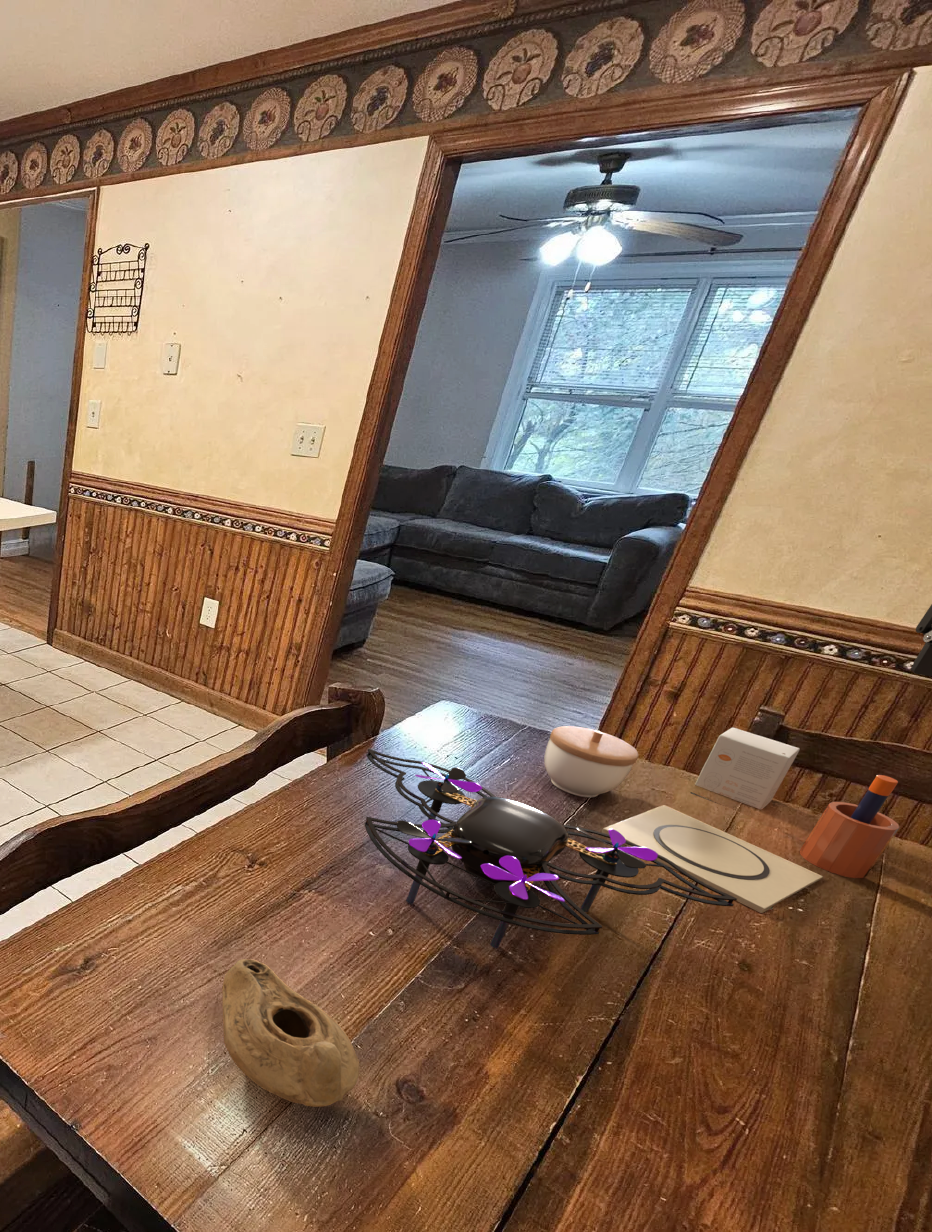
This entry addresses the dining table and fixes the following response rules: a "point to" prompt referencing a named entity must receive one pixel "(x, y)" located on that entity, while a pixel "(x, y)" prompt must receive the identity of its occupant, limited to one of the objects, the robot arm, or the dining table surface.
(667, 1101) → the dining table surface
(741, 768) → the small box
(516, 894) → the drone
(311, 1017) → the oil lamp
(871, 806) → the marker
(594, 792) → the trinket box
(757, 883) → the drawing pad
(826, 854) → the pen cup
